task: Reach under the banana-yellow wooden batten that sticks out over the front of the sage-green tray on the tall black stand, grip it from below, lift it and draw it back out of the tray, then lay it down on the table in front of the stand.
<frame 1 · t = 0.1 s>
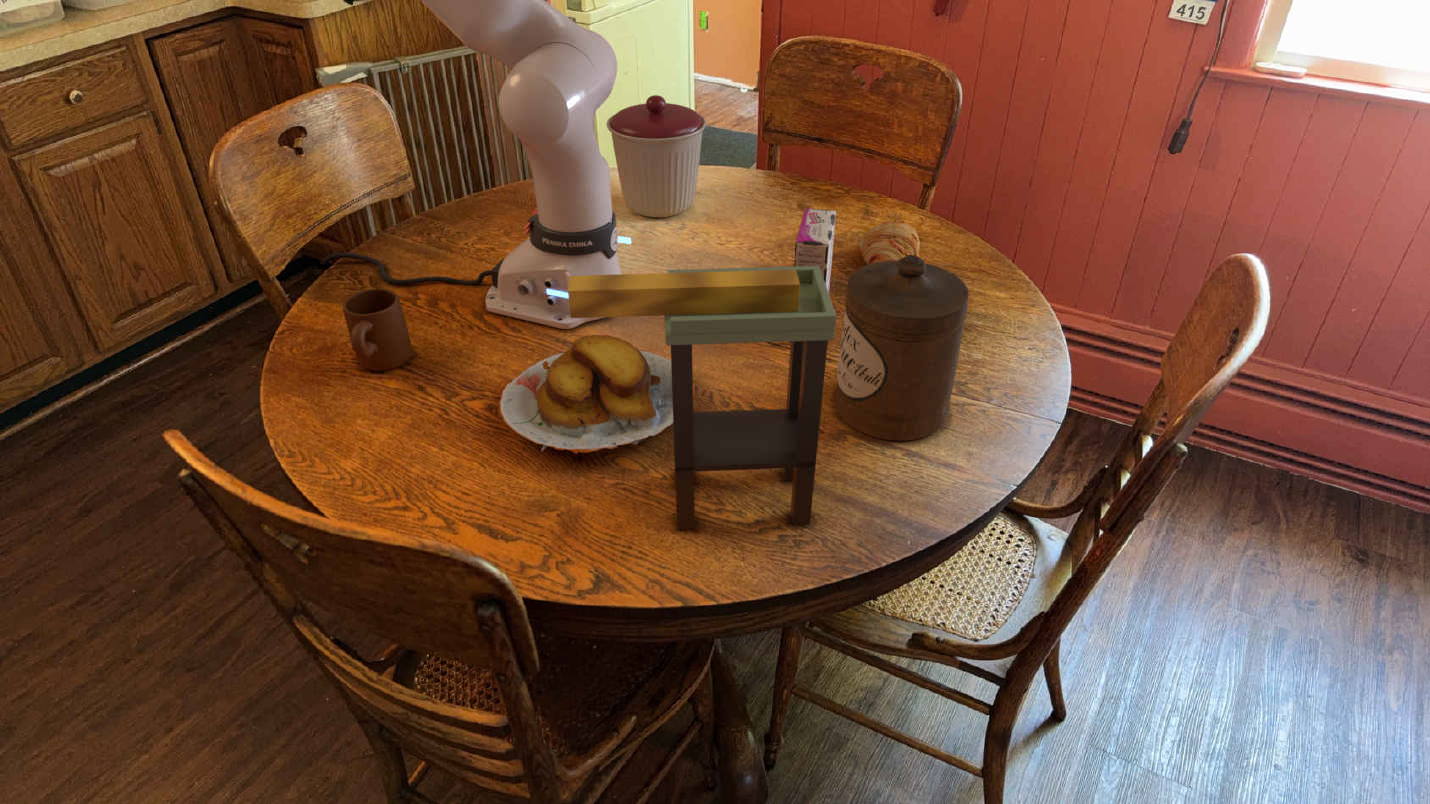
mug: (382, 368, 121), on the table
batten: (684, 307, 84), point 26 cm above the table, touching stand
candy bar box: (808, 324, 131), on the table
wooden container: (889, 408, 114), on the table
stand: (740, 498, 100), on the table
croissant: (887, 262, 147), on the table
food on plate: (598, 408, 114), on the table
canister: (659, 207, 165), on the table
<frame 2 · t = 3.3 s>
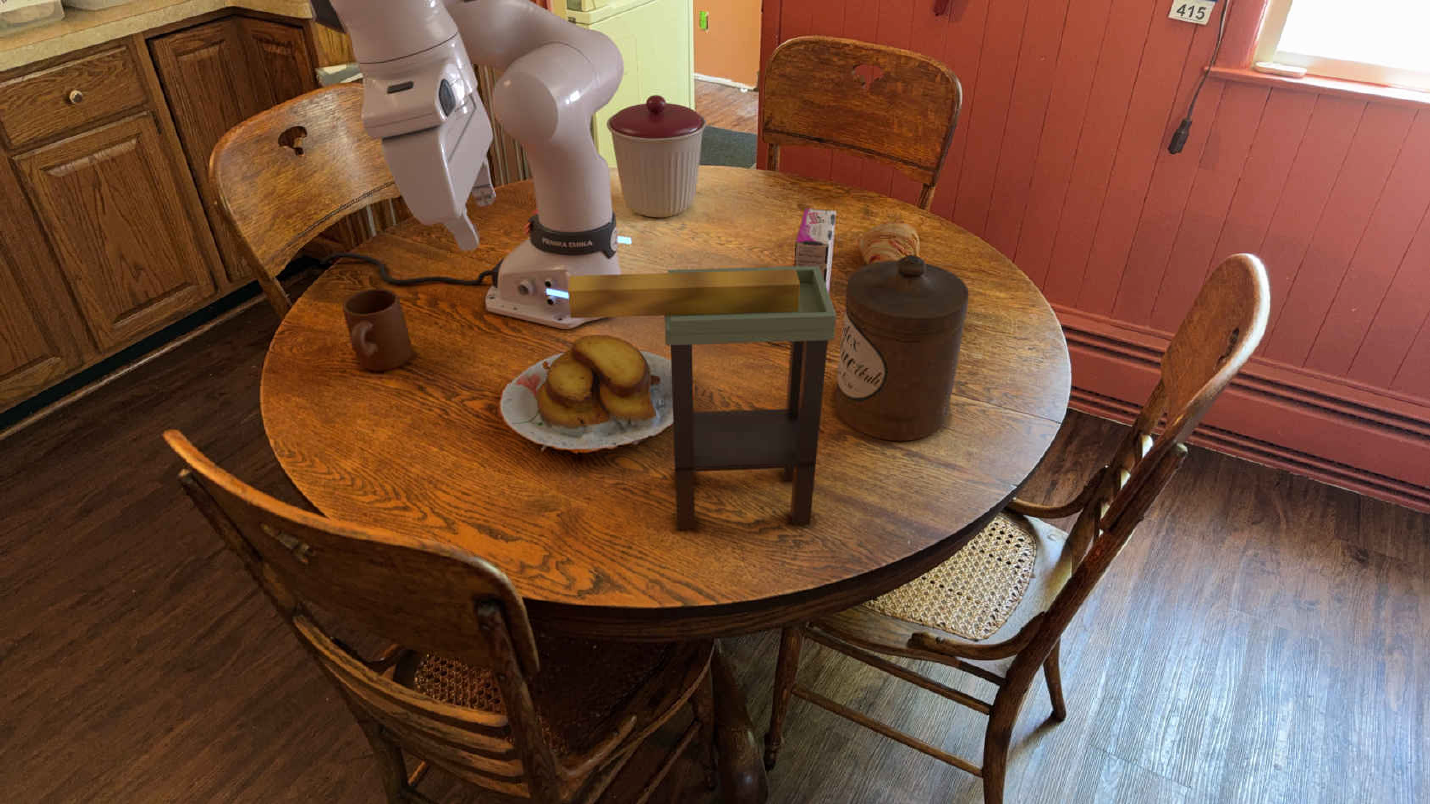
hand: (480, 223, 82), 33 cm above the table, tool pointing down, fingers open, 8 cm apart
nothing on the table moved.
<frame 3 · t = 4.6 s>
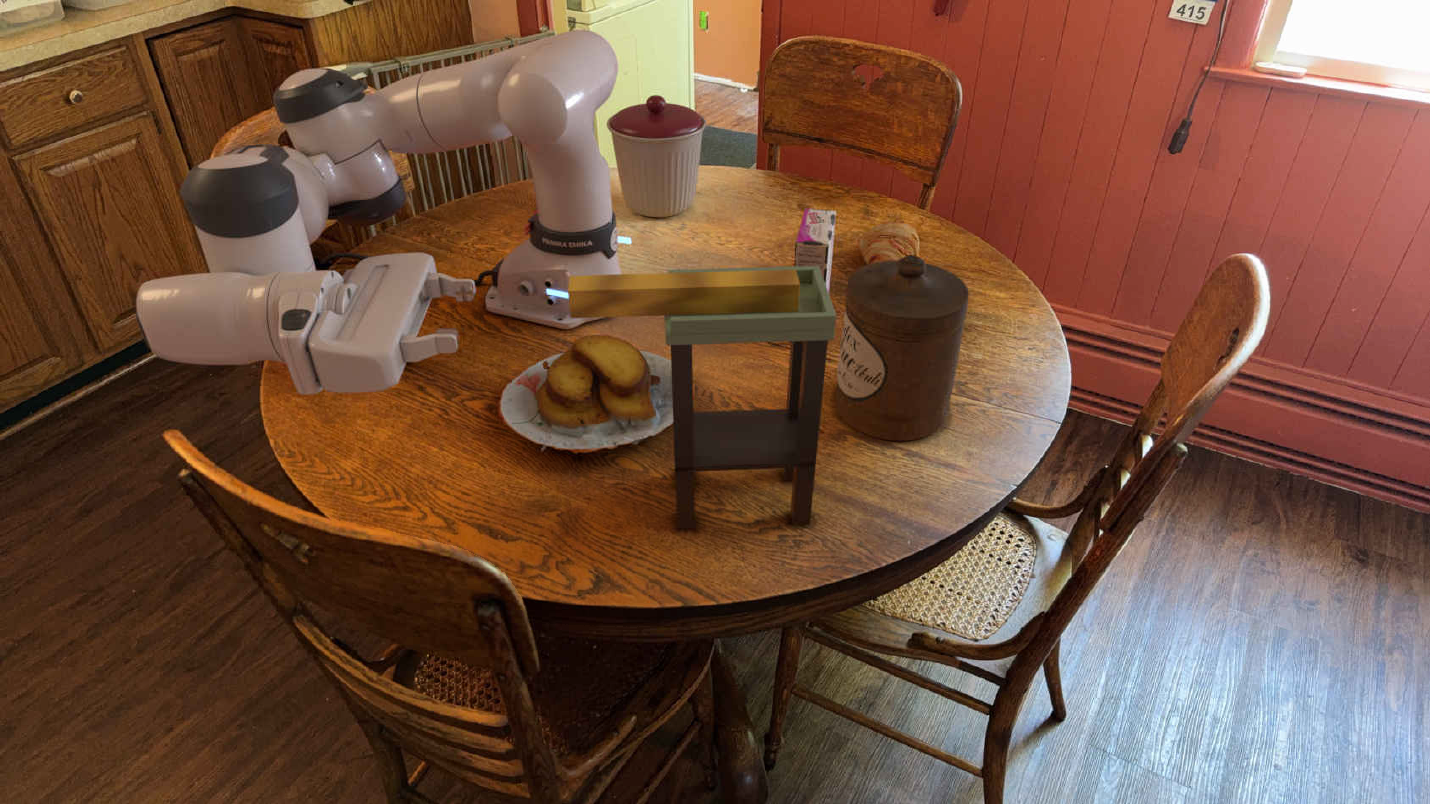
hand: (466, 314, 83), 26 cm above the table, tool horizontal, fingers open, 8 cm apart
nothing on the table moved.
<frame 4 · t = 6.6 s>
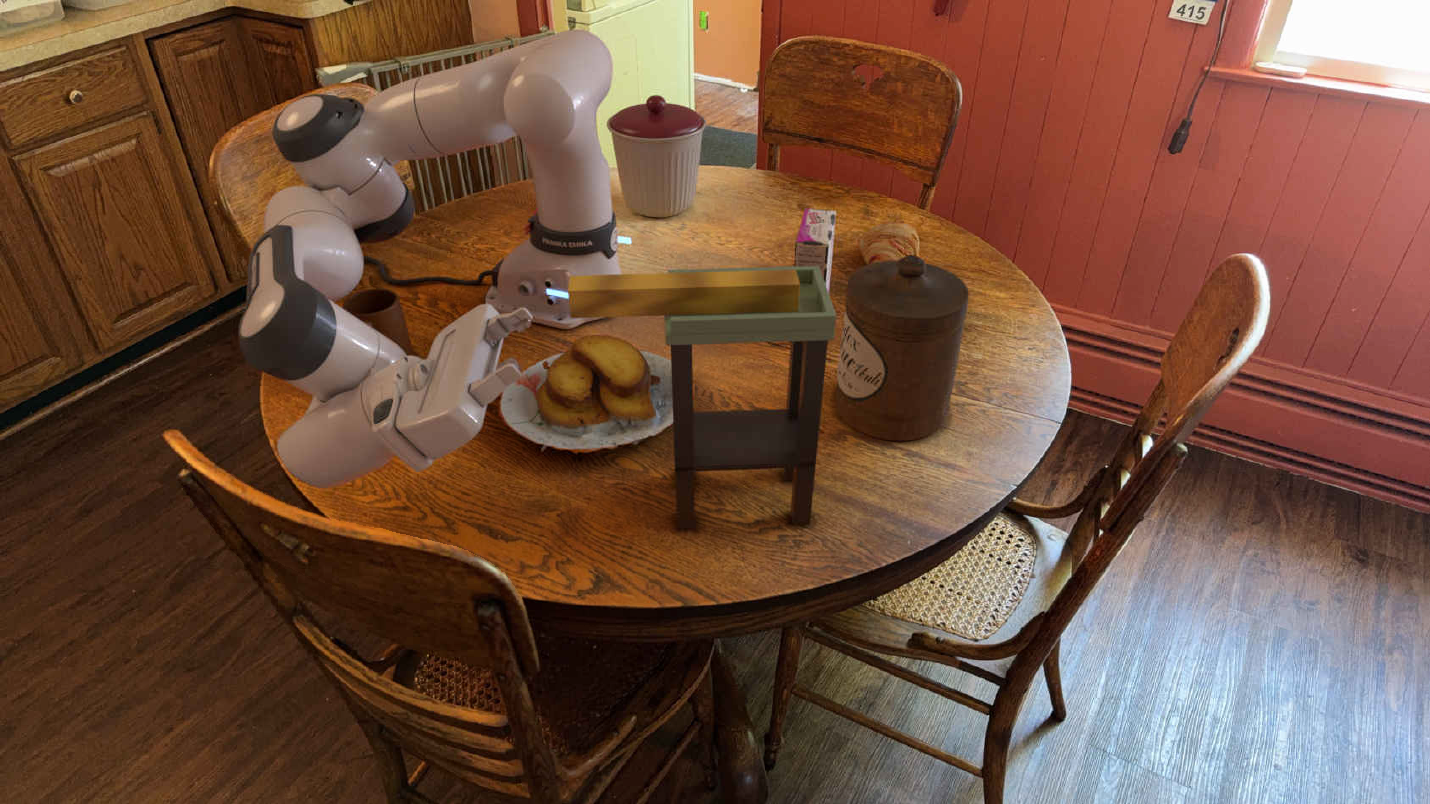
hand: (523, 340, 85), 23 cm above the table, tool pointing upward, fingers open, 8 cm apart
nothing on the table moved.
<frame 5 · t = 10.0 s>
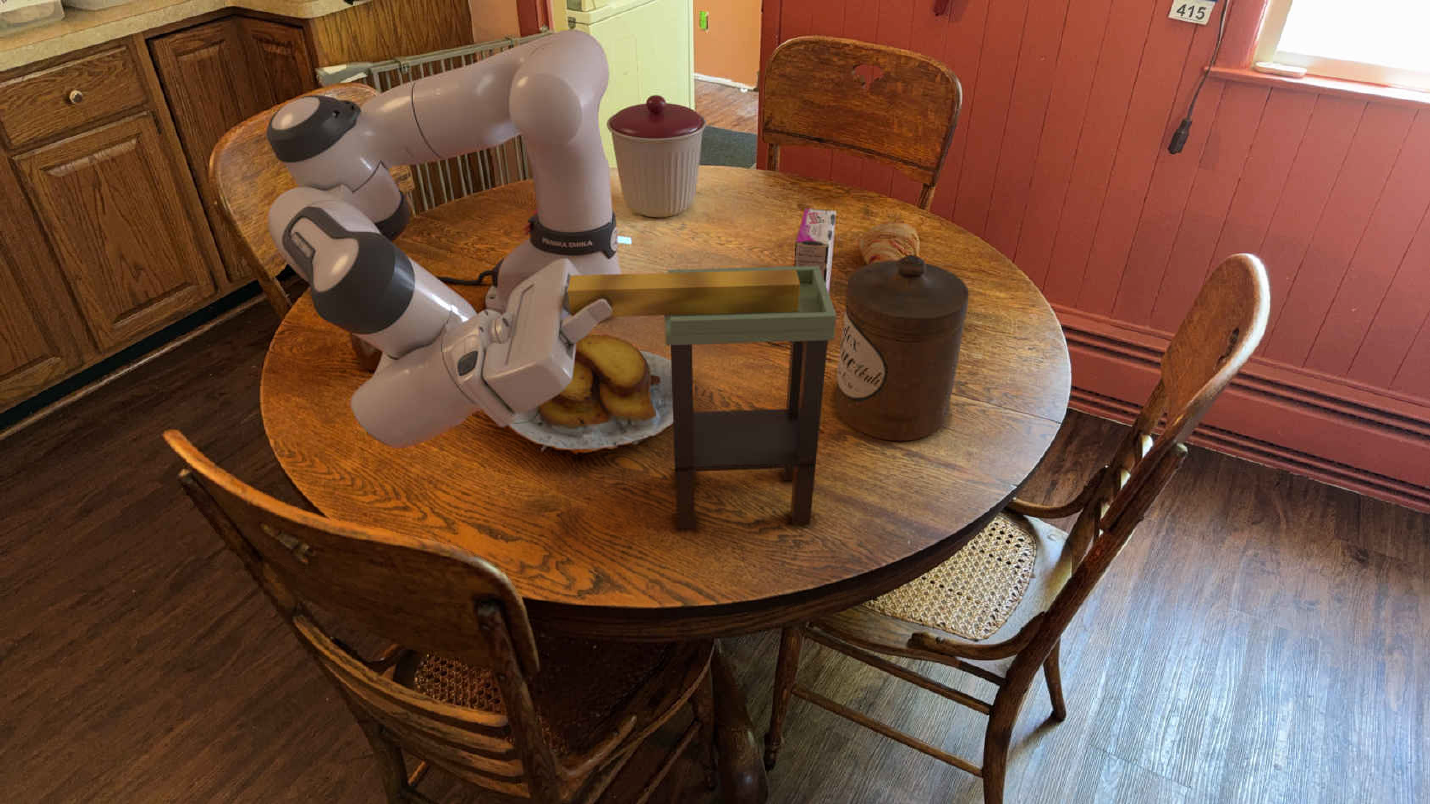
hand: (609, 291, 82), 28 cm above the table, tool pointing upward, fingers closed on batten, 3 cm apart
batten: (684, 306, 84), point 26 cm above the table, touching gripper, stand
everything else where it was.
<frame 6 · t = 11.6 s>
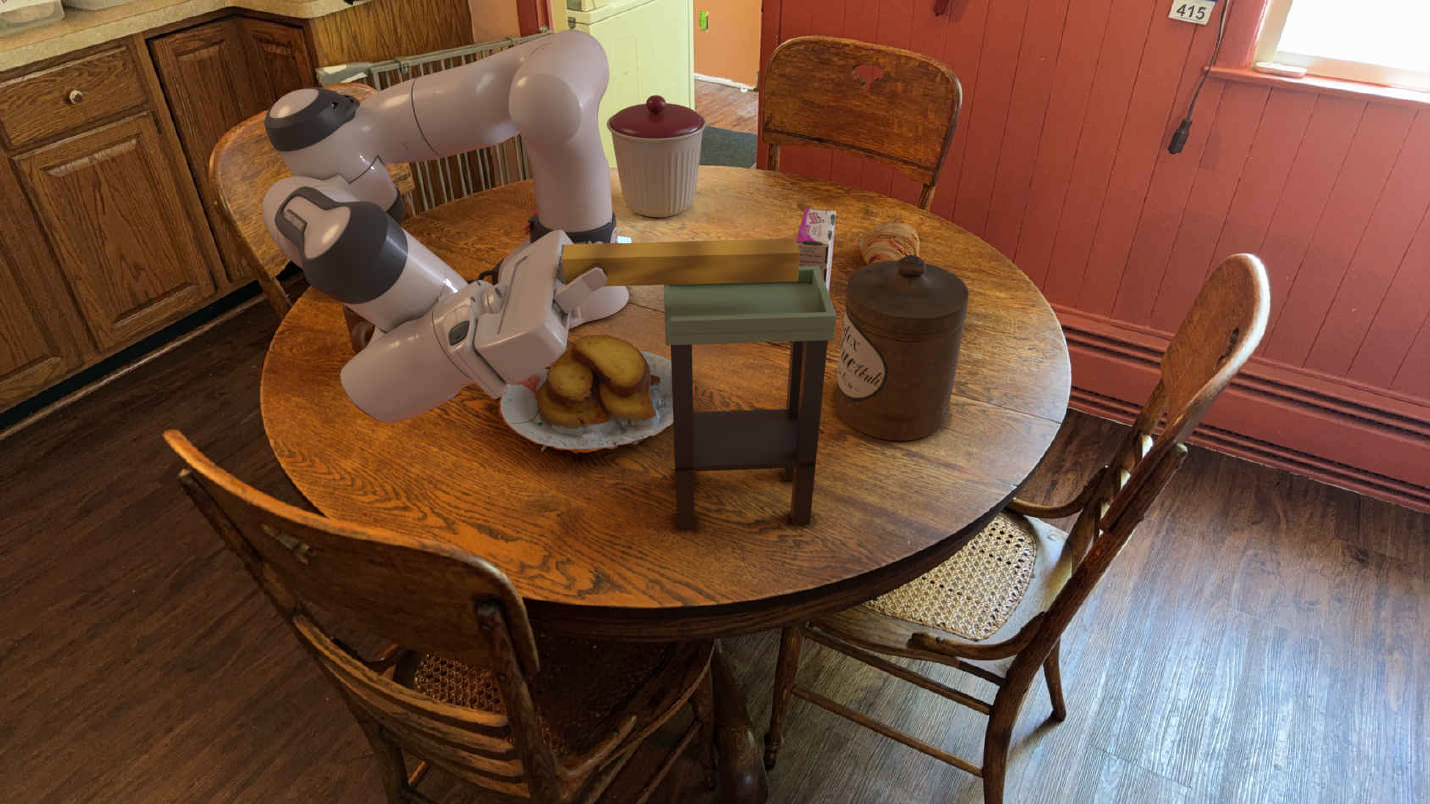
hand: (604, 260, 80), 31 cm above the table, tool pointing upward, fingers closed on batten, 3 cm apart
batten: (681, 276, 82), point 29 cm above the table, touching gripper
everything else where it was.
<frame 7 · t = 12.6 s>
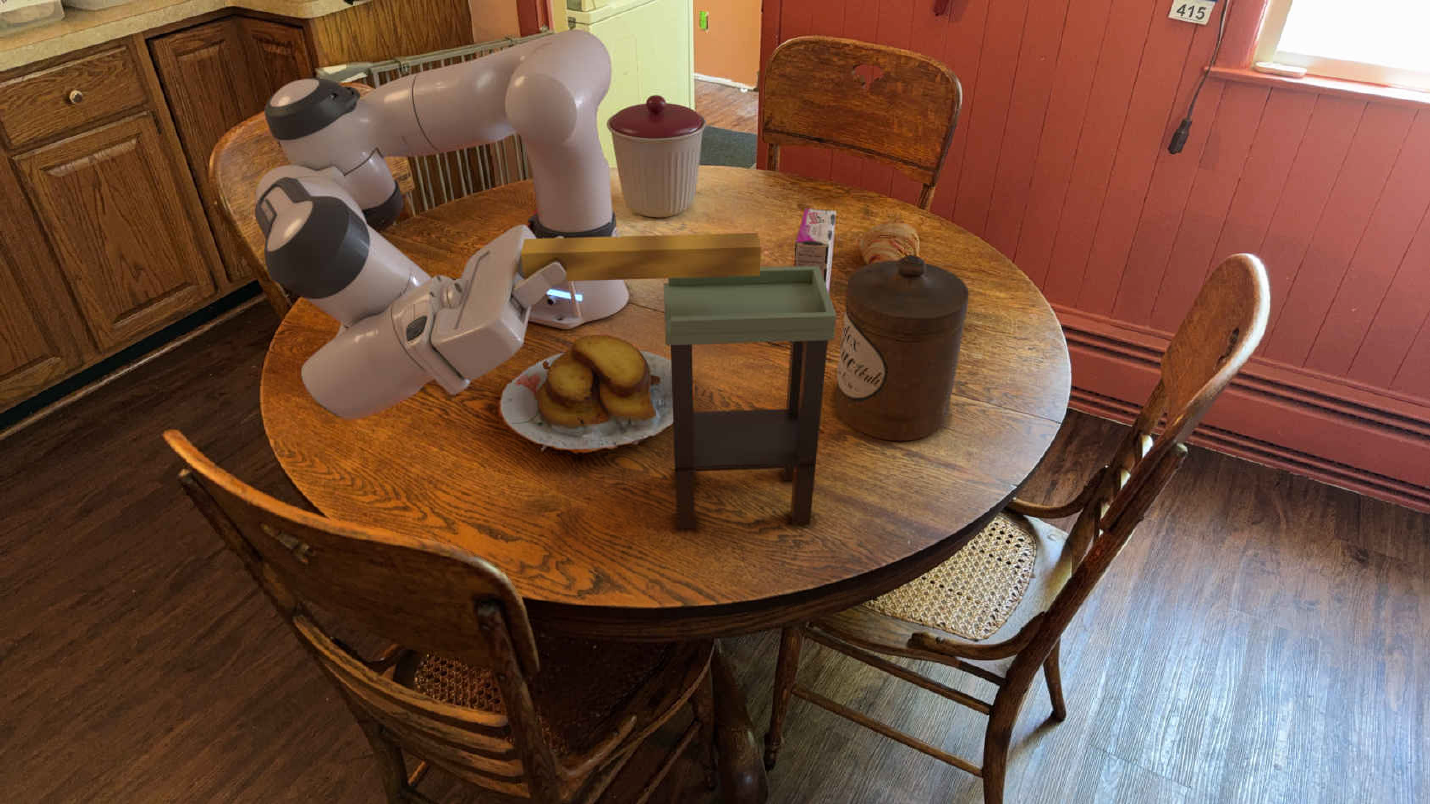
hand: (564, 255, 80), 32 cm above the table, tool pointing upward, fingers closed on batten, 3 cm apart
batten: (643, 271, 81), point 30 cm above the table, touching gripper
everything else where it was.
when the fingers open (11 cm above the table, at t = 20.7 s): batten drops 6 cm, on the table.
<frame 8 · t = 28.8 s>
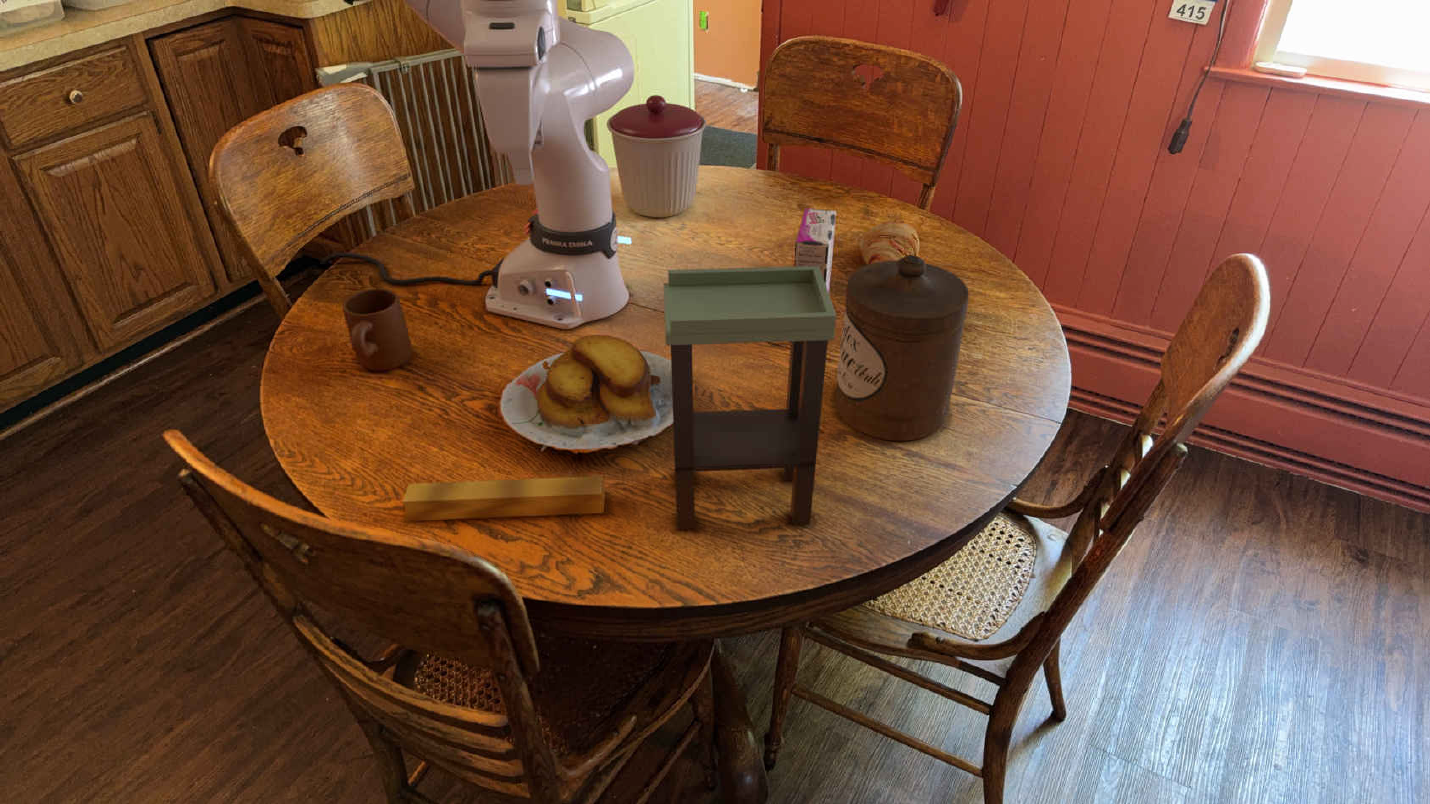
hand: (530, 164, 89), 35 cm above the table, tool pointing down, fingers open, 8 cm apart
batten: (508, 507, 98), on the table
everything else where it was.
at the end: batten touching table; batten inside the target area (3.0 cm from its centre), on the table; the gripper is holding nothing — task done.
